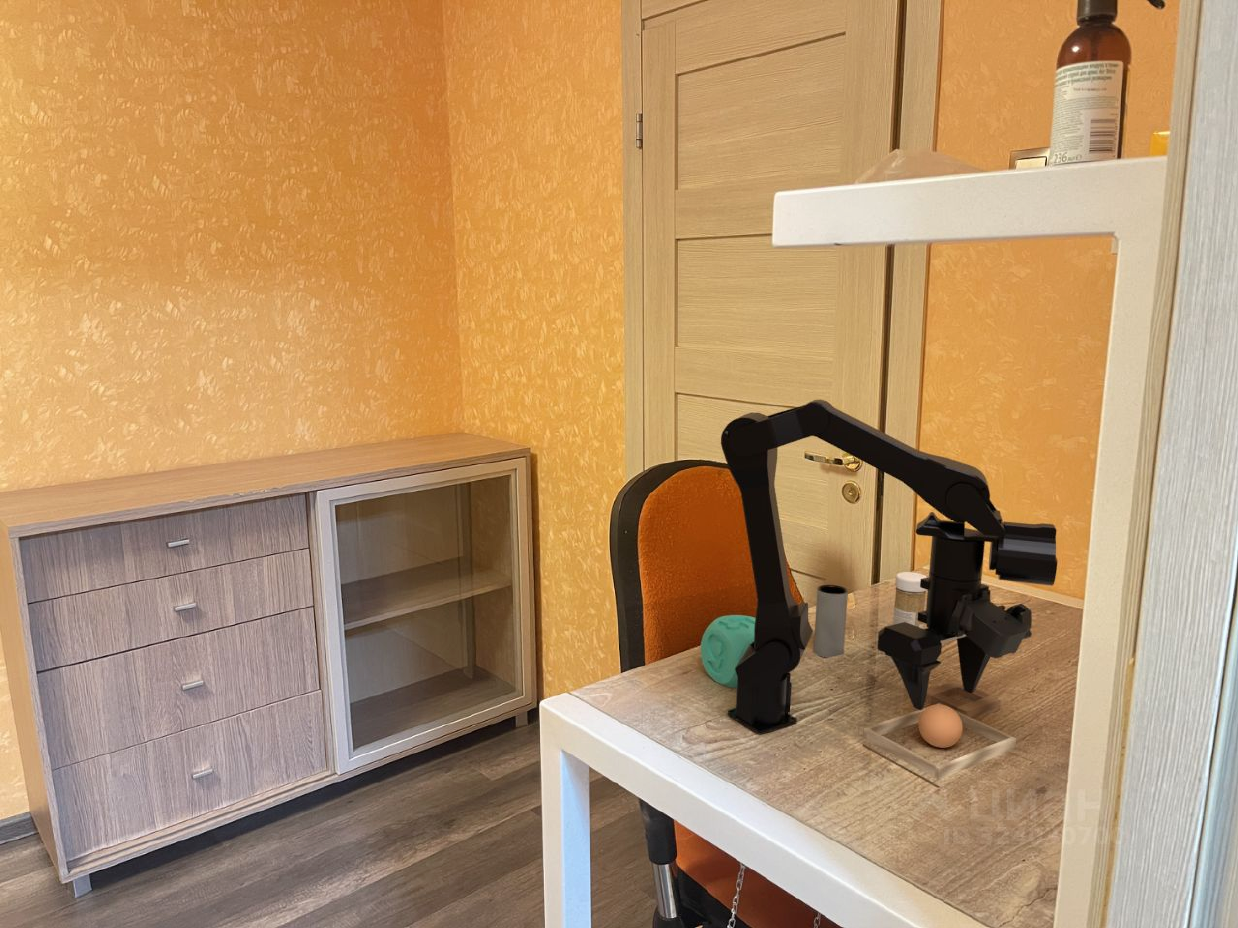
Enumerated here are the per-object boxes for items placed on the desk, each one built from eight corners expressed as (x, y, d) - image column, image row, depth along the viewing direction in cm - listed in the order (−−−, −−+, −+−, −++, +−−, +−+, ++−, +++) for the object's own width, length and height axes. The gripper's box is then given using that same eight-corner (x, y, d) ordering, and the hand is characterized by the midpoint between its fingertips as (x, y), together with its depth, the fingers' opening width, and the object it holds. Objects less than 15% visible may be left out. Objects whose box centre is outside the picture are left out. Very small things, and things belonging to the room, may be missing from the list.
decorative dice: (777, 681, 126) (780, 627, 125) (735, 693, 122) (737, 638, 121) (740, 662, 133) (742, 610, 131) (698, 673, 128) (700, 620, 127)
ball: (942, 759, 103) (945, 719, 102) (908, 741, 108) (910, 703, 107) (969, 748, 106) (973, 709, 105) (935, 731, 110) (938, 693, 109)
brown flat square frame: (965, 726, 114) (966, 711, 113) (920, 705, 119) (921, 691, 119) (999, 713, 117) (1000, 699, 117) (954, 694, 123) (955, 680, 123)
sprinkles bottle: (927, 663, 133) (934, 577, 131) (904, 668, 131) (911, 581, 129) (905, 653, 137) (912, 569, 135) (882, 657, 135) (889, 572, 133)
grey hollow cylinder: (832, 645, 140) (836, 583, 138) (849, 656, 136) (854, 592, 134) (807, 649, 138) (811, 585, 136) (824, 660, 134) (828, 594, 132)
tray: (937, 787, 99) (939, 768, 98) (862, 745, 108) (863, 728, 107) (1014, 756, 106) (1016, 738, 106) (938, 719, 115) (939, 702, 115)
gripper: (962, 607, 91) (950, 748, 94) (1067, 580, 101) (1053, 709, 104) (878, 578, 101) (869, 707, 103) (982, 557, 111) (971, 675, 113)
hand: (944, 700), depth 106 cm, fingers open, 9 cm apart
